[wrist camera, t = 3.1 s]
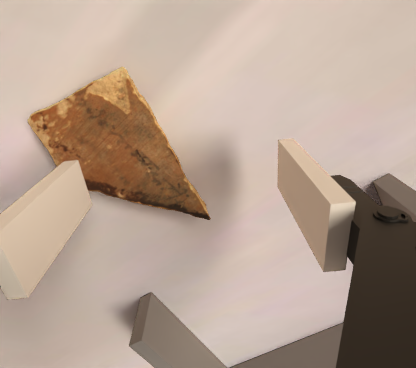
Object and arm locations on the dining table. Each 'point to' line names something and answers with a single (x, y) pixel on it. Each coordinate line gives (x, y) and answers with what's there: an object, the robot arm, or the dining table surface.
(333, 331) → the box
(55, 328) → the dining table surface
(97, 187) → the shard
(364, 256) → the robot arm
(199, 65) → the dining table surface
